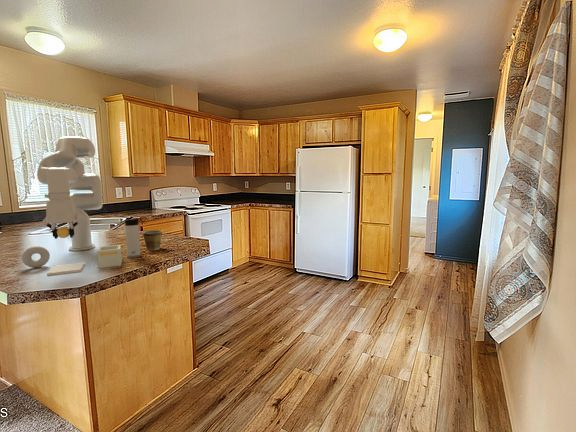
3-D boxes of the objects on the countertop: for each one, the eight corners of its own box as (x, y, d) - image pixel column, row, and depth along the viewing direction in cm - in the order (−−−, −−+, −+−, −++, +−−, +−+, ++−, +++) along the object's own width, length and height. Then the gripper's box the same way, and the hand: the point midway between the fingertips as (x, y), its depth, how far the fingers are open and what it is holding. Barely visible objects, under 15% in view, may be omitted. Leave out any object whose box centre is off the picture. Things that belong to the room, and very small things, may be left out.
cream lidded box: (100, 263, 149) (99, 246, 148) (121, 260, 153) (120, 244, 152) (98, 268, 141) (97, 251, 139) (121, 265, 144) (119, 249, 143)
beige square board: (53, 267, 141) (53, 265, 141) (84, 264, 146) (84, 262, 146) (47, 275, 131) (46, 273, 130) (80, 271, 136) (80, 269, 136)
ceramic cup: (166, 248, 178) (165, 231, 177) (151, 252, 170) (149, 234, 168) (152, 245, 185) (151, 229, 183) (137, 248, 176) (136, 231, 175)
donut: (23, 270, 137) (20, 248, 136) (22, 268, 140) (20, 247, 138) (51, 266, 144) (49, 245, 142) (50, 264, 146) (48, 243, 145)
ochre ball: (58, 237, 138) (57, 226, 137) (71, 236, 140) (70, 225, 139) (55, 239, 134) (54, 228, 133) (69, 238, 136) (68, 227, 135)
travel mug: (135, 258, 157) (133, 219, 154) (124, 257, 158) (121, 219, 156) (143, 255, 163) (141, 217, 160) (132, 254, 165) (130, 217, 162)
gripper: (32, 198, 127) (37, 241, 130) (81, 196, 134) (85, 237, 137) (37, 196, 134) (42, 237, 137) (84, 195, 141) (87, 234, 144)
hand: (64, 237), depth 137 cm, fingers closed on ochre ball, 4 cm apart
